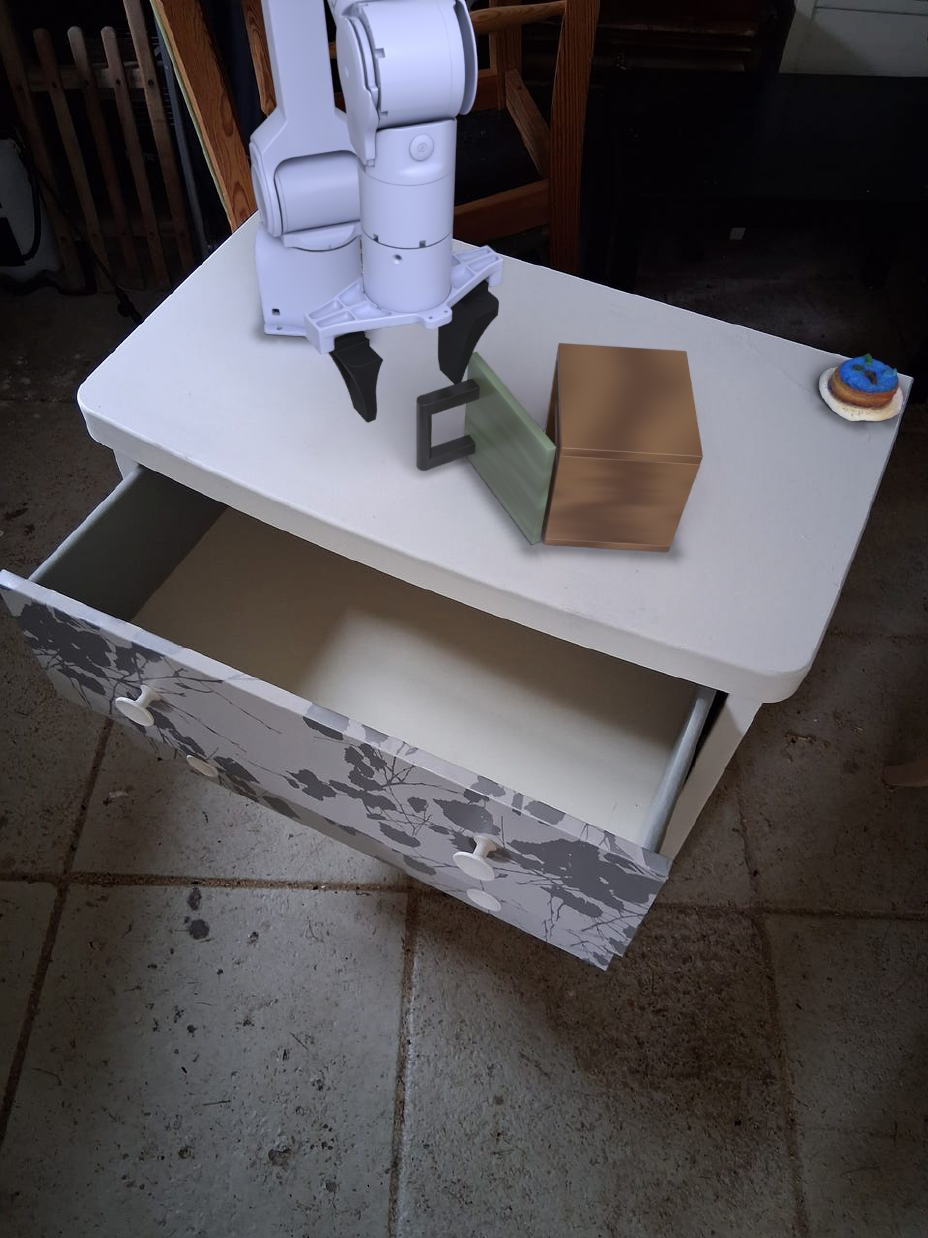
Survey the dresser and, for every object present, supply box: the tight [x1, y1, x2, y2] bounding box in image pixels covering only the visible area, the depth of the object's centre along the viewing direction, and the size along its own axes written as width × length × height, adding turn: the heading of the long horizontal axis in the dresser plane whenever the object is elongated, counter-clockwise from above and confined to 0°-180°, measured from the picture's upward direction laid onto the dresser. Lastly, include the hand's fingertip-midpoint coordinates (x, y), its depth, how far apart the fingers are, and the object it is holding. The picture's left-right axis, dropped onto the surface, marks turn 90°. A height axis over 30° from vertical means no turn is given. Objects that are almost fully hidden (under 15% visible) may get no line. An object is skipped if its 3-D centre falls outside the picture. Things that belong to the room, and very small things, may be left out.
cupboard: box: [543, 342, 704, 553], centre depth 70 cm, size 10×12×11 cm
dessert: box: [818, 353, 904, 422], centre depth 82 cm, size 8×7×6 cm
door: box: [415, 351, 556, 545], centre depth 69 cm, size 6×12×10 cm, turn 28°
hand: (408, 394), depth 66 cm, fingers open, 7 cm apart
